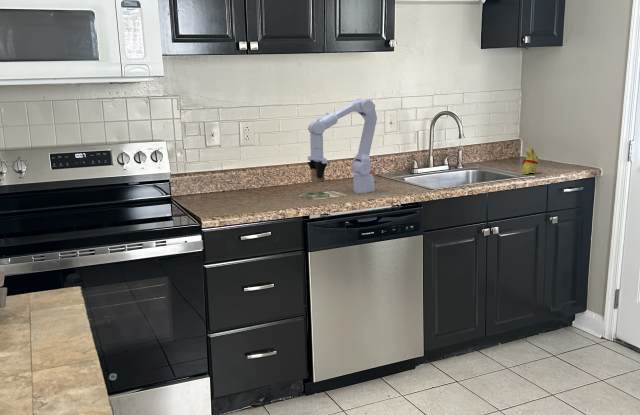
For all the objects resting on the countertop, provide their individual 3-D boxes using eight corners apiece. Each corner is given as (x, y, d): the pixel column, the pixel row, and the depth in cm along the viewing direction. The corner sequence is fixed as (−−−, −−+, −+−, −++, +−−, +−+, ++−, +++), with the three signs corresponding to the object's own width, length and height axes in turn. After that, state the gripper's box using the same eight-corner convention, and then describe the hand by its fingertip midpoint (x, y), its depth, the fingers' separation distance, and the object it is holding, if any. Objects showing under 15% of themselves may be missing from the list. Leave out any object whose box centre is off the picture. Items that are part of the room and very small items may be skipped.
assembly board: (332, 193, 304) (332, 188, 303) (348, 197, 292) (347, 192, 291) (299, 197, 295) (298, 192, 295) (313, 202, 283) (313, 197, 283)
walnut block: (319, 180, 294) (319, 167, 293) (324, 181, 290) (324, 168, 289) (311, 181, 292) (310, 168, 290) (316, 182, 288) (315, 169, 287)
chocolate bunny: (540, 173, 342) (541, 145, 339) (527, 175, 336) (528, 147, 333) (530, 172, 347) (531, 144, 344) (516, 174, 342) (517, 146, 339)
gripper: (301, 147, 292) (302, 176, 295) (316, 149, 279) (317, 180, 282) (315, 146, 295) (315, 175, 298) (330, 148, 283) (331, 178, 286)
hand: (317, 177), depth 290 cm, fingers closed on walnut block, 4 cm apart
